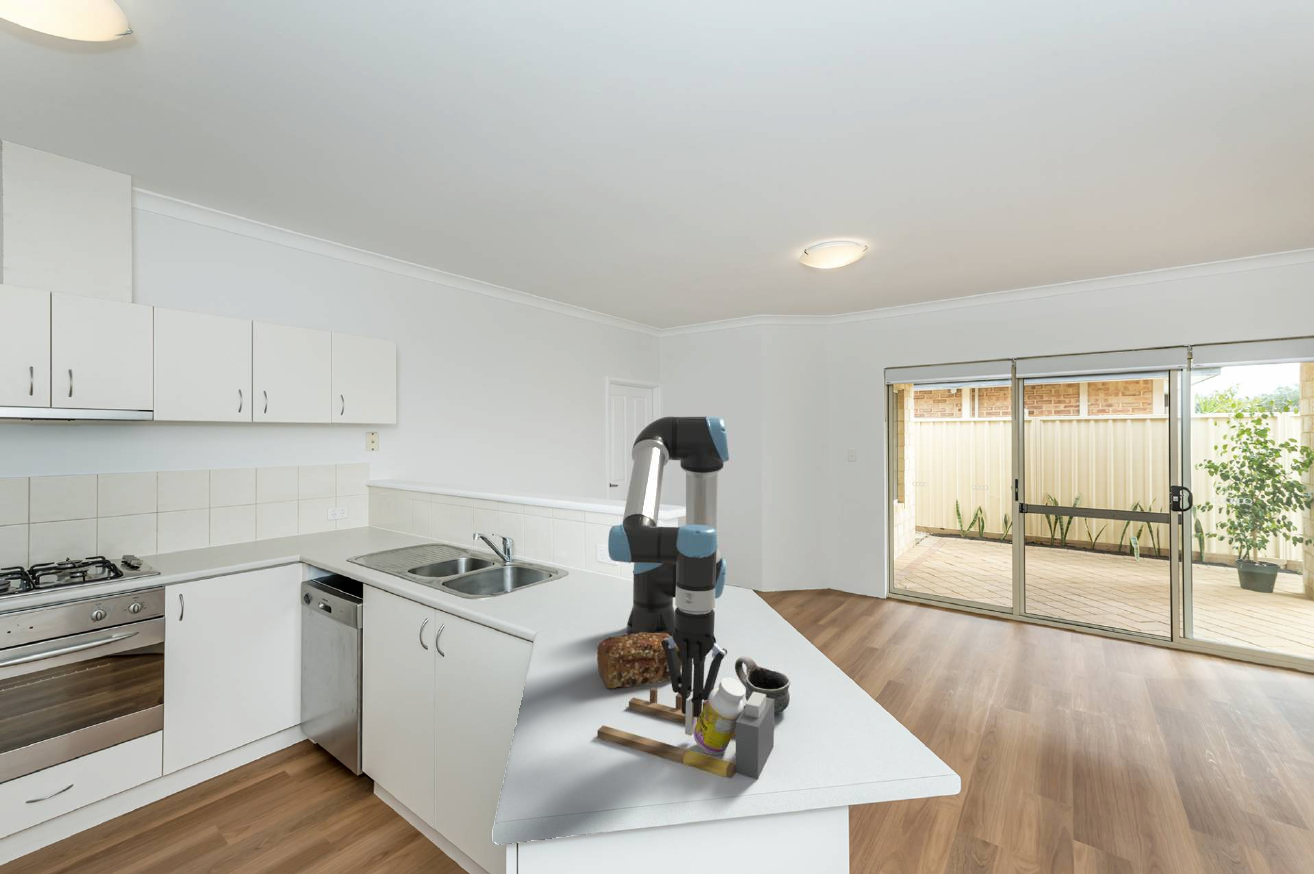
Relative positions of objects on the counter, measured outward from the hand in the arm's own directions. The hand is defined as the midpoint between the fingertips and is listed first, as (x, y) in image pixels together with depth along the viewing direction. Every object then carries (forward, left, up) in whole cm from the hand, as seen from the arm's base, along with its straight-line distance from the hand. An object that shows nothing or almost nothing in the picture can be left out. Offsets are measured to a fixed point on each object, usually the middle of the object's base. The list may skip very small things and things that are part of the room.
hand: (690, 731), depth 105 cm
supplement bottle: (+4, 0, -1) cm, 4 cm away
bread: (-22, +20, -3) cm, 30 cm away
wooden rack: (-3, 0, -2) cm, 4 cm away
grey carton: (+12, 0, -2) cm, 13 cm away
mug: (+8, +18, -2) cm, 20 cm away
